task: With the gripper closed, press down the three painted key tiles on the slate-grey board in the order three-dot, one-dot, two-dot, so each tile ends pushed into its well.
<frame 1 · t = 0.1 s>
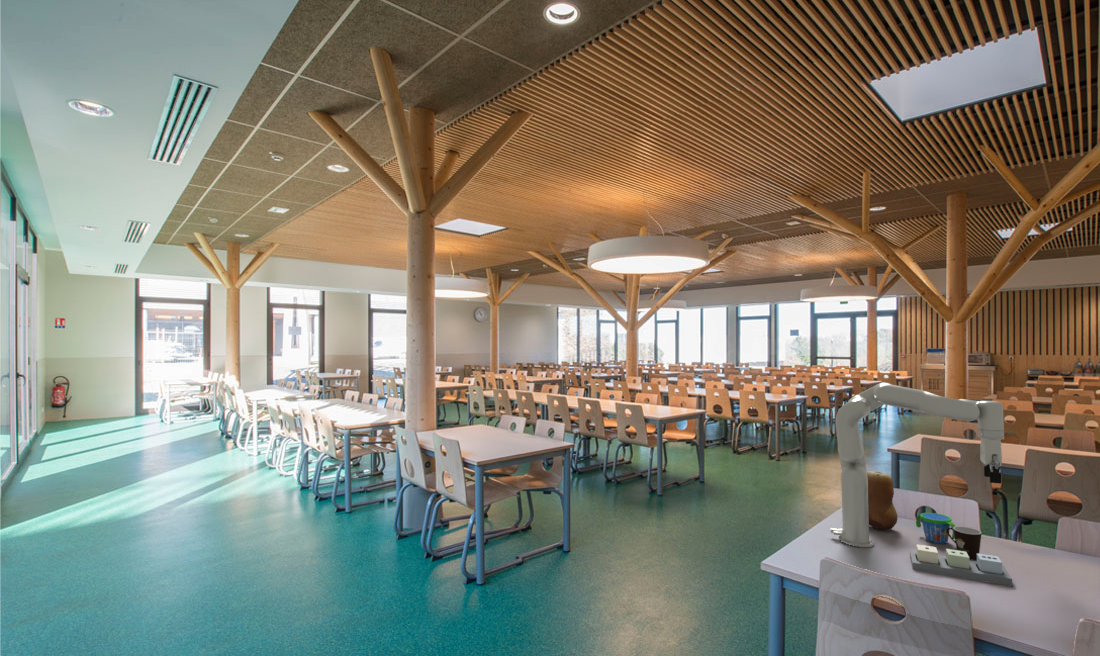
hand: (992, 479, 198), 31 cm above the table, tool pointing down, fingers open, 9 cm apart
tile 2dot: (957, 558, 192), point 4 cm above the table, slide at 0.0 cm
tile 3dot: (989, 563, 187), point 4 cm above the table, slide at 0.0 cm
snack cup: (936, 541, 220), on the table
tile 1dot: (927, 553, 196), point 4 cm above the table, slide at 0.0 cm
butternut squash: (879, 528, 235), on the table
coffee mug: (965, 555, 206), on the table
board: (957, 570, 192), on the table
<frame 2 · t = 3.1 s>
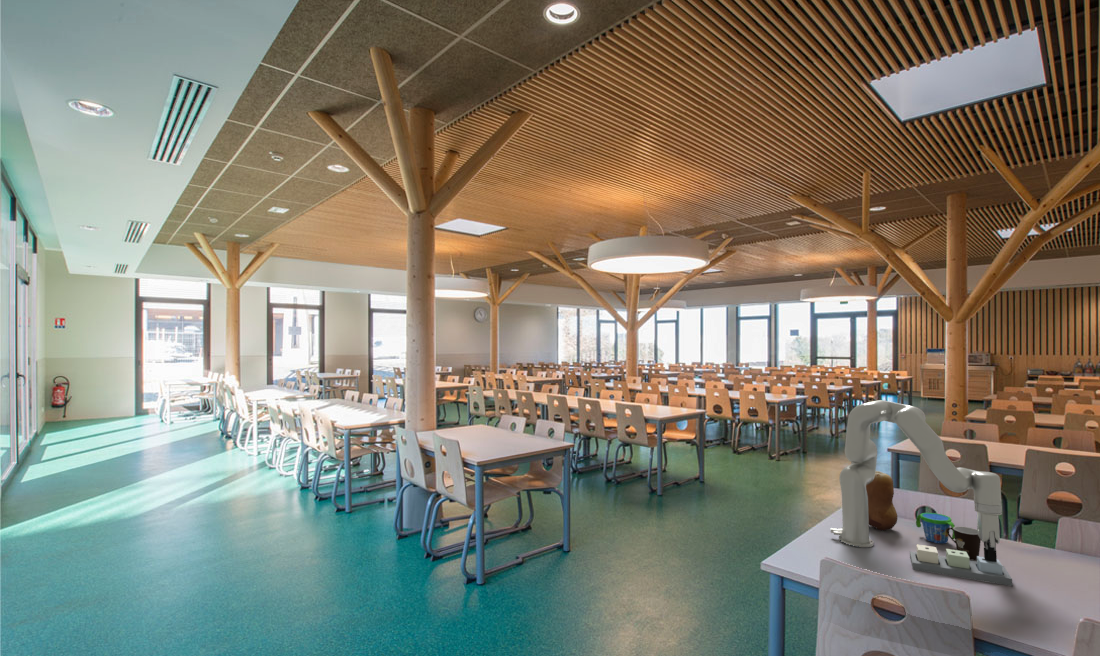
hand: (990, 560, 187), 6 cm above the table, tool pointing down, fingers closed
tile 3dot: (989, 566, 187), point 4 cm above the table, slide at 1.0 cm, touching gripper
everything else where it was.
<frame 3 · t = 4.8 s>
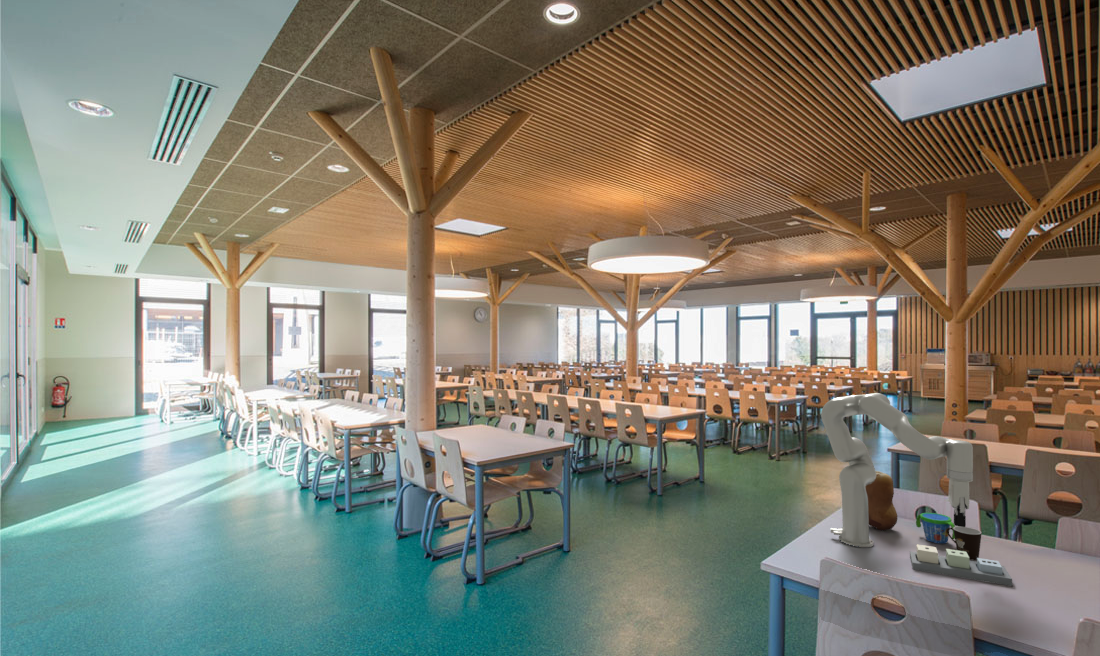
hand: (959, 525, 192), 16 cm above the table, tool pointing down, fingers closed
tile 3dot: (989, 567, 187), point 3 cm above the table, slide at 1.6 cm
everything else where it was.
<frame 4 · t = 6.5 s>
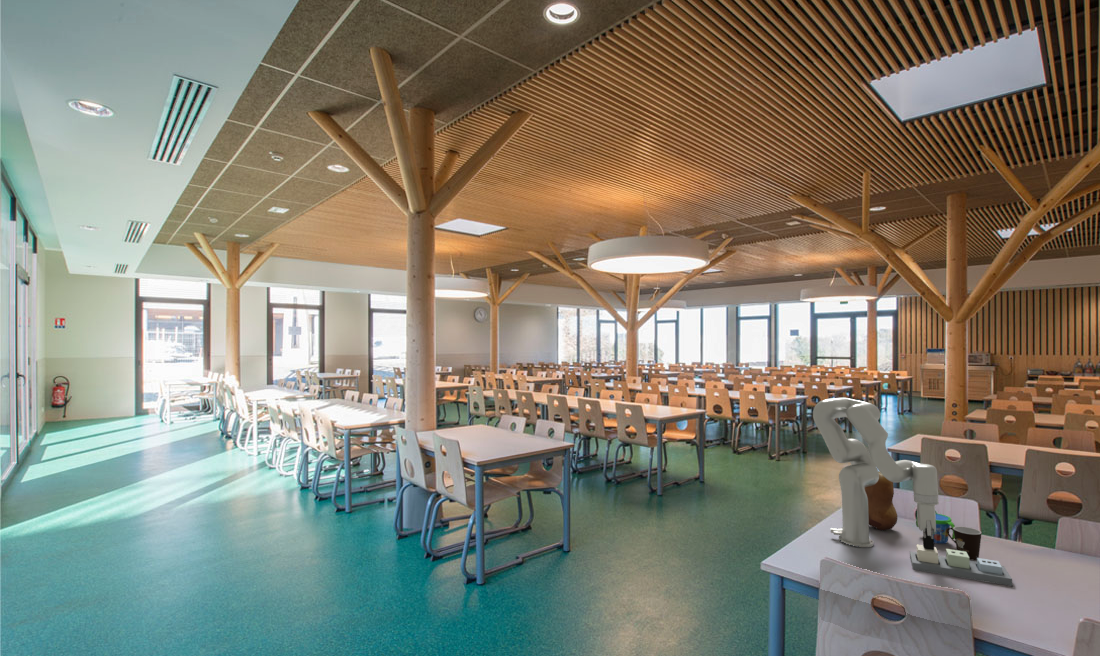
hand: (928, 548, 196), 7 cm above the table, tool pointing down, fingers closed
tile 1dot: (927, 553, 196), point 4 cm above the table, slide at 0.0 cm, touching gripper
everything else where it was.
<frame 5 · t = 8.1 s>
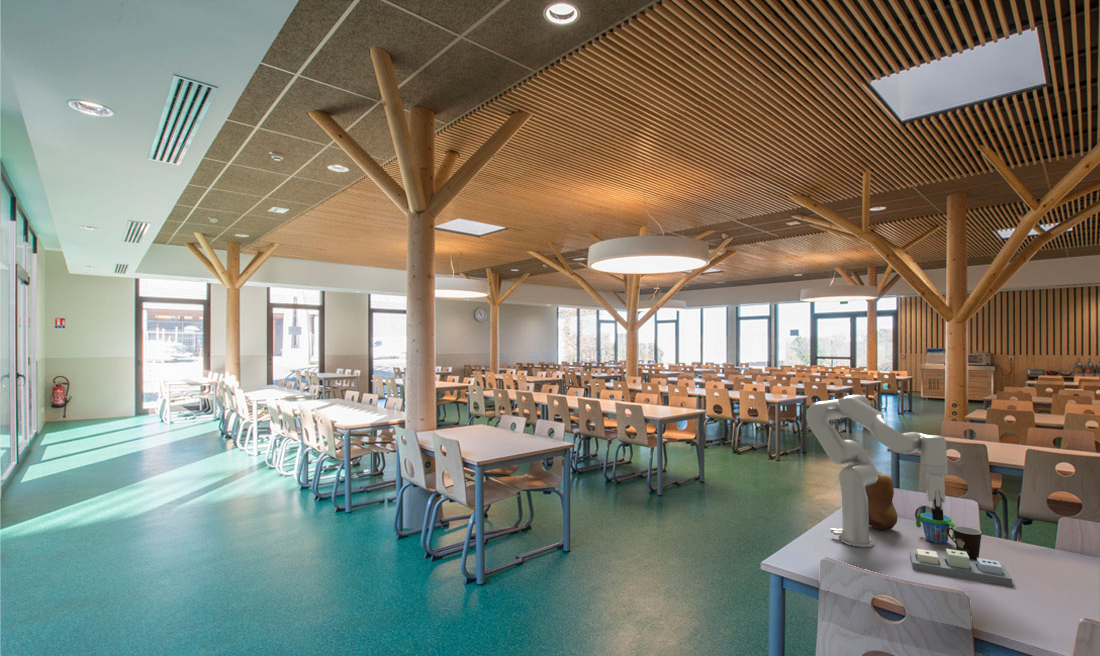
hand: (937, 519, 195), 18 cm above the table, tool pointing down, fingers closed
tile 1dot: (927, 558, 196), point 3 cm above the table, slide at 1.6 cm
everything else where it was.
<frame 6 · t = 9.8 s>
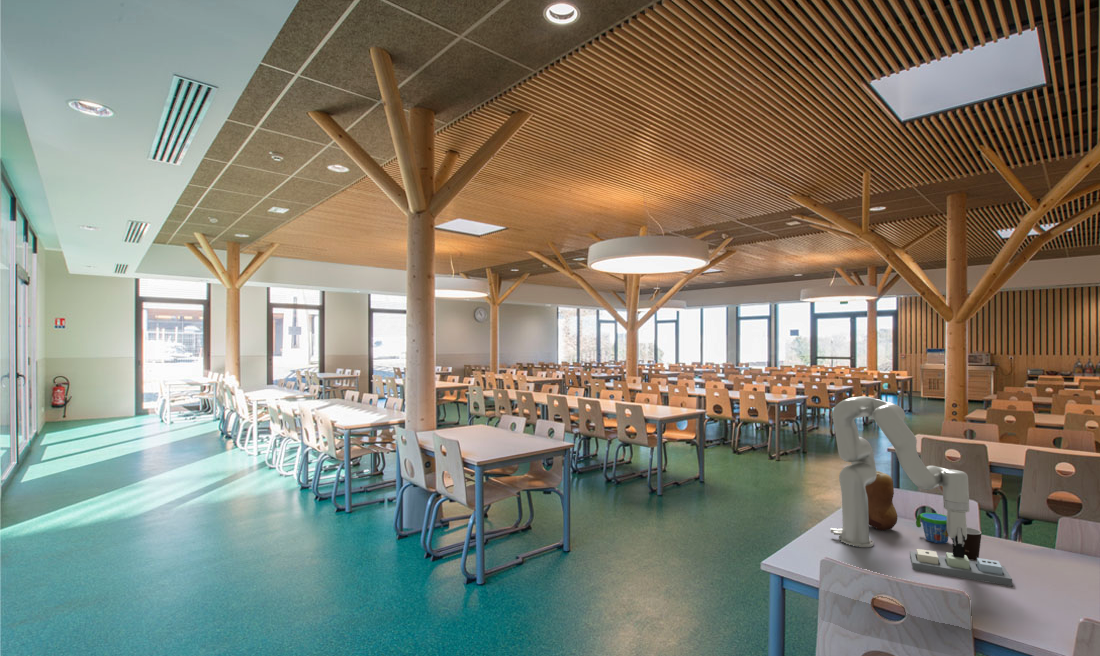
hand: (958, 556, 192), 5 cm above the table, tool pointing down, fingers closed
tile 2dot: (957, 561, 192), point 3 cm above the table, slide at 1.3 cm, touching gripper
everything else where it was.
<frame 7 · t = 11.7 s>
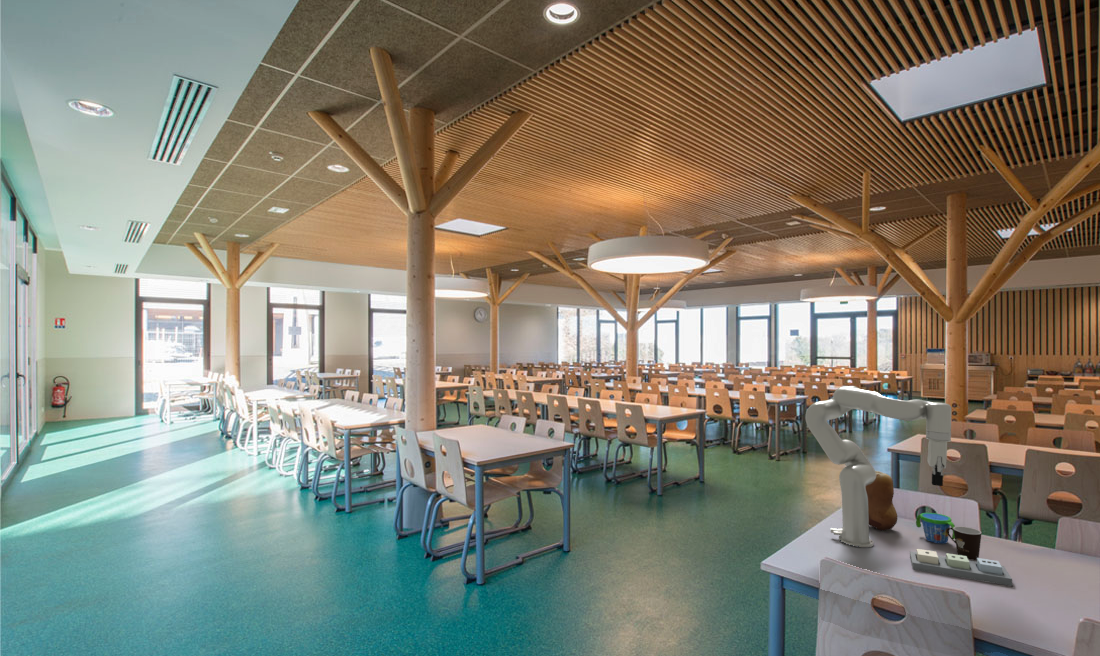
hand: (937, 484, 198), 30 cm above the table, tool pointing down, fingers closed
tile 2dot: (957, 562, 192), point 3 cm above the table, slide at 1.6 cm
everything else where it was.
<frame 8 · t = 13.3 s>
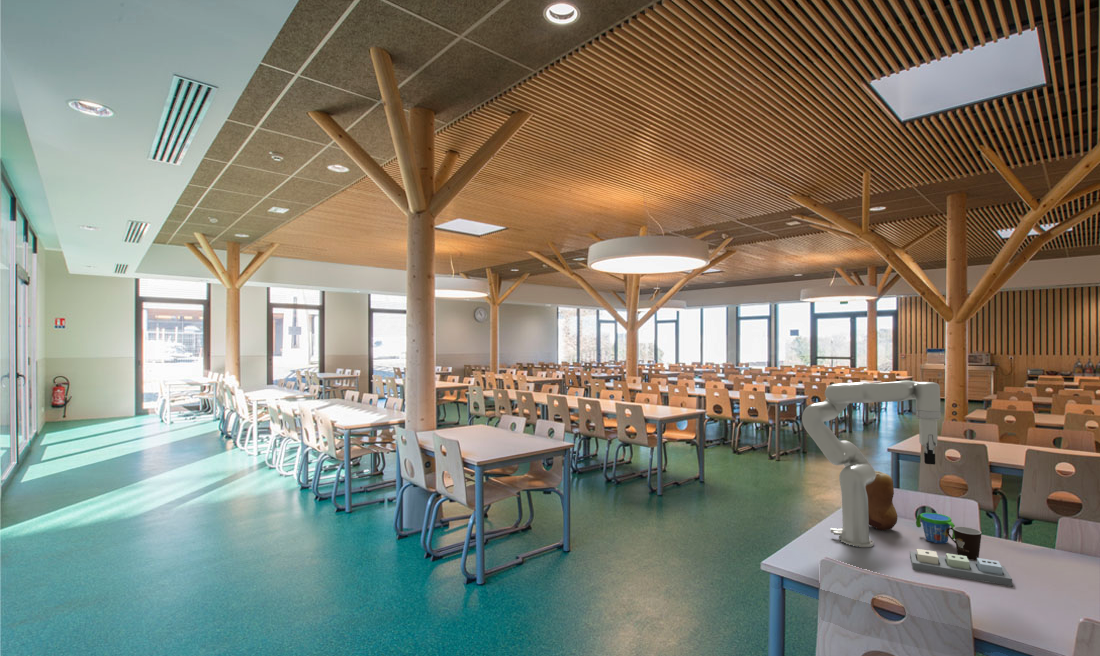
hand: (929, 463, 200), 37 cm above the table, tool pointing down, fingers closed
nothing on the table moved.
at the end: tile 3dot slide at 1.6 cm; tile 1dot slide at 1.6 cm; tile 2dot slide at 1.6 cm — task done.
